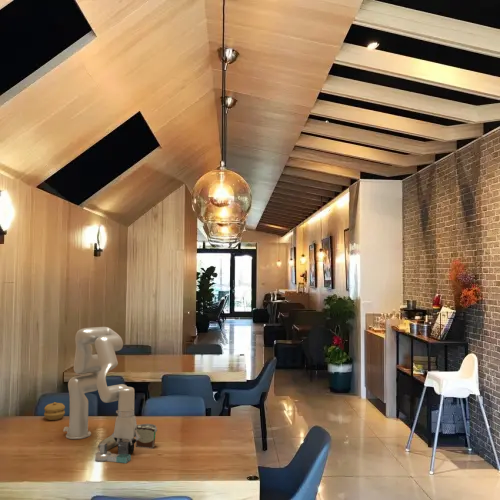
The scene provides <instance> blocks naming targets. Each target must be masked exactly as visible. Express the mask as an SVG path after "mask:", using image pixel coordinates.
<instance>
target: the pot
mask: <svg viewBox="0 0 500 500" xmlns="http://www.w3.org/2000/svg"><path fill="white" fill-rule="evenodd" d="M65 409H66V406H65V404H64V403H62V402H55V401H54V402H52V403H48V404H47V405H45V407H44V409H43V410H44V413H43V415H44V418H45V419H46V420H49V421H57V420H60V419H62V418H63V417H64V416H65V414H66V410H65Z"/></svg>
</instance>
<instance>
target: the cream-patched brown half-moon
mask: <svg viewBox="0 0 500 500" xmlns="http://www.w3.org/2000/svg"><path fill="white" fill-rule="evenodd" d="M157 431H158V427H157V425H156V424H153V423H140V424H137V432H138V434H139V435H140V439H138V440H137V441H136V442H135V446H136V447H137V448H145V449H152V450H153V449H154V448H155V443H156V436H157V435H156V433H157Z"/></svg>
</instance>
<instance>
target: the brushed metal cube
mask: <svg viewBox="0 0 500 500" xmlns="http://www.w3.org/2000/svg"><path fill="white" fill-rule="evenodd" d="M129 445H130V441H129V439H122V440H120V441H118V445H117V454H129Z"/></svg>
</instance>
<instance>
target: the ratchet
mask: <svg viewBox="0 0 500 500" xmlns="http://www.w3.org/2000/svg"><path fill="white" fill-rule="evenodd" d="M131 455H132V454H118V453H112V451H109V450H107V443H101V444H100V450H99V451H98V452H96V453H95V455H94V456H95V457H94V458H95V462H97V463H99V462H100V463H102V462H103V463H104V462H110V463H111V462H112V463H120V464H127V463H129V462H130V461H131V460H132V456H131Z"/></svg>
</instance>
